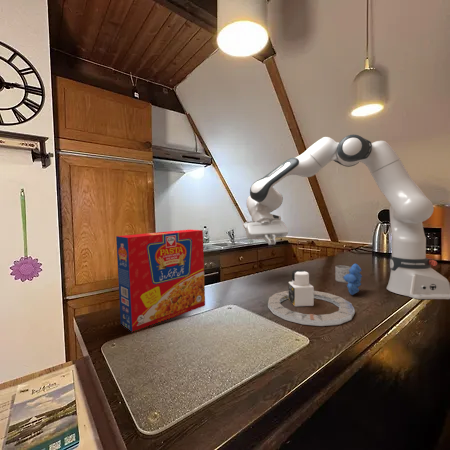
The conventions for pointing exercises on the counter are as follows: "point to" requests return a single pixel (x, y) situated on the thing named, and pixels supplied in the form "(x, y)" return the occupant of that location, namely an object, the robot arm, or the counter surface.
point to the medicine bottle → (301, 289)
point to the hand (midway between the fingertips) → (272, 243)
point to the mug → (341, 272)
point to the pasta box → (159, 276)
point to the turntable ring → (335, 318)
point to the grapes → (353, 279)
